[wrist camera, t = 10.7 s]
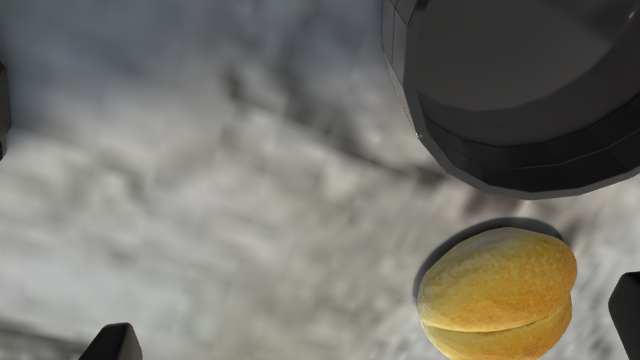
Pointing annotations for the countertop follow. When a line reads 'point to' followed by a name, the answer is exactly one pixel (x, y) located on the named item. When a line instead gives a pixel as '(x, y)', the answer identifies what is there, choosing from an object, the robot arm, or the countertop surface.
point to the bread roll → (499, 296)
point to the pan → (521, 90)
